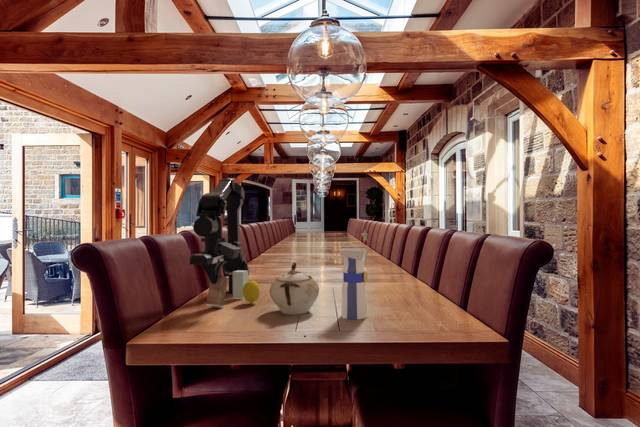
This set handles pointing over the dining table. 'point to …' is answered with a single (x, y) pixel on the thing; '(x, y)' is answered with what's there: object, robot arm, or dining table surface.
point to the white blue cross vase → (354, 283)
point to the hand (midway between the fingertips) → (214, 284)
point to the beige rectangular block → (217, 293)
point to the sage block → (239, 283)
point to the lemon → (251, 291)
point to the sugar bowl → (294, 292)
